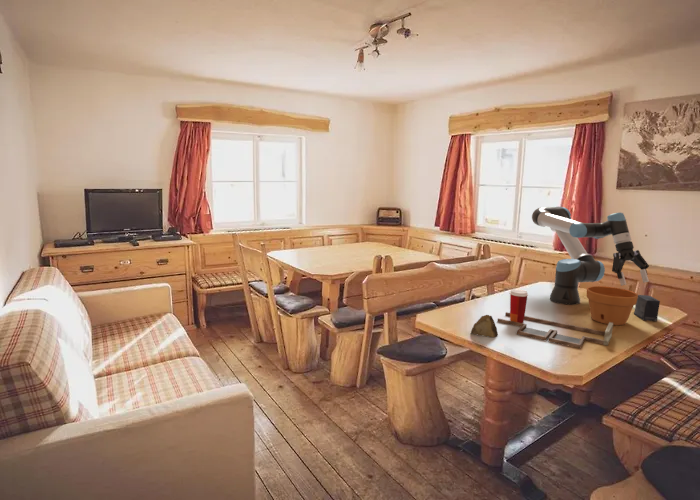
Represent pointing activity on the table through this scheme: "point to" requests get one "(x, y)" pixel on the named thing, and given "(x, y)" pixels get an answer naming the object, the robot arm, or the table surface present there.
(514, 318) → the coffee cup
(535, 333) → the channel
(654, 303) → the small box
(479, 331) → the rock
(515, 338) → the table surface
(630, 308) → the flower pot
